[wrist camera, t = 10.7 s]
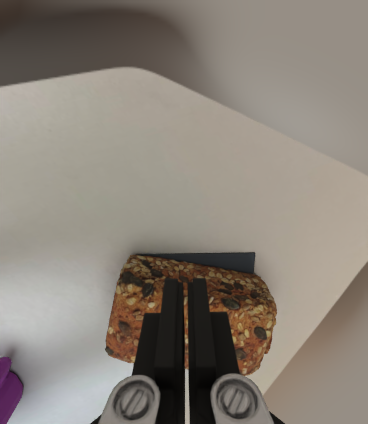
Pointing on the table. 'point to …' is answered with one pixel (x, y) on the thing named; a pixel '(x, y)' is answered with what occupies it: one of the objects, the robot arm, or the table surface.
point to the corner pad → (215, 260)
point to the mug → (8, 390)
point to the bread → (218, 302)
